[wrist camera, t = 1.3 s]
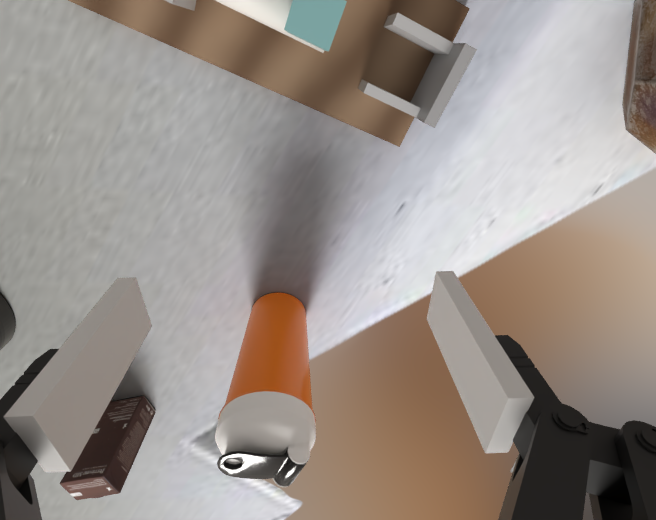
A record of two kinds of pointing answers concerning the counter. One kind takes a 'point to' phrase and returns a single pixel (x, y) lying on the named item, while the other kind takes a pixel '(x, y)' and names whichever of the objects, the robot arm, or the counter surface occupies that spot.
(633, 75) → the planter
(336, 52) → the board
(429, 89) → the socket
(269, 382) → the shaker bottle
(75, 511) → the counter surface
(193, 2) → the sleeve
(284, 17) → the bolt
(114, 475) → the box
